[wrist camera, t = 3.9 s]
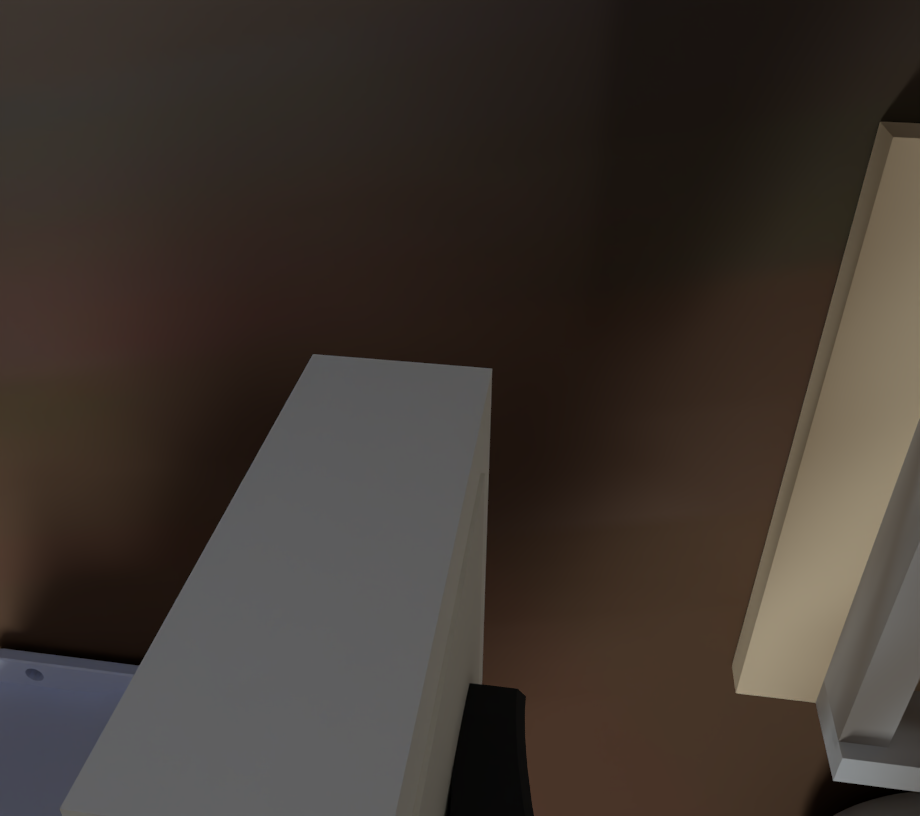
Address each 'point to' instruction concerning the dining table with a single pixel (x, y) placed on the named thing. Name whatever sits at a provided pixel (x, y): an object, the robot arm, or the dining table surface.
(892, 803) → the egg shaped speaker
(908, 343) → the door frame
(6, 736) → the robot arm
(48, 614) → the dining table surface
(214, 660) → the door panel
